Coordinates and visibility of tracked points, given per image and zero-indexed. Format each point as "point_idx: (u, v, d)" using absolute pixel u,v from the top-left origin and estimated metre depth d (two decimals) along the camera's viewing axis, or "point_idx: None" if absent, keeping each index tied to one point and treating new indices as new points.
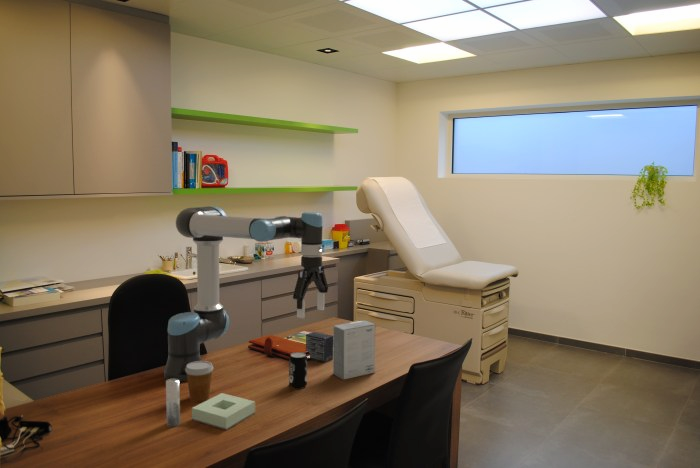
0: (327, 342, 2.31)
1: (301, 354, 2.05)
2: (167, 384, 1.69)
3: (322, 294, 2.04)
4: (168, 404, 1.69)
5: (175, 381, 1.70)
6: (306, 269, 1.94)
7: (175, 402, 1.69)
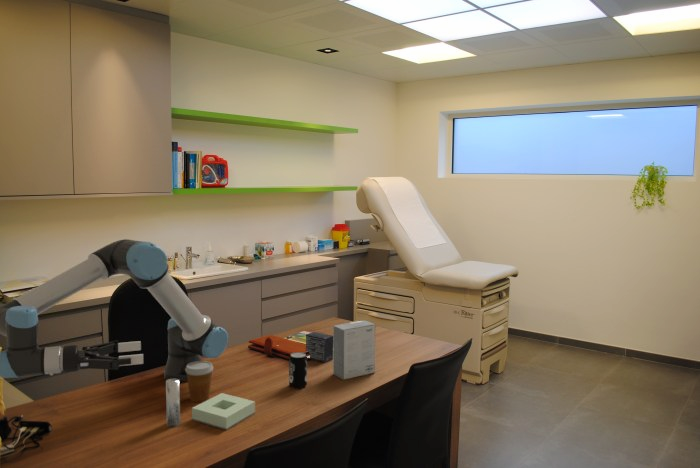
0: (327, 342, 2.31)
1: (301, 354, 2.05)
2: (167, 384, 1.69)
3: None
4: (168, 404, 1.69)
5: (175, 381, 1.70)
6: None
7: (175, 402, 1.69)
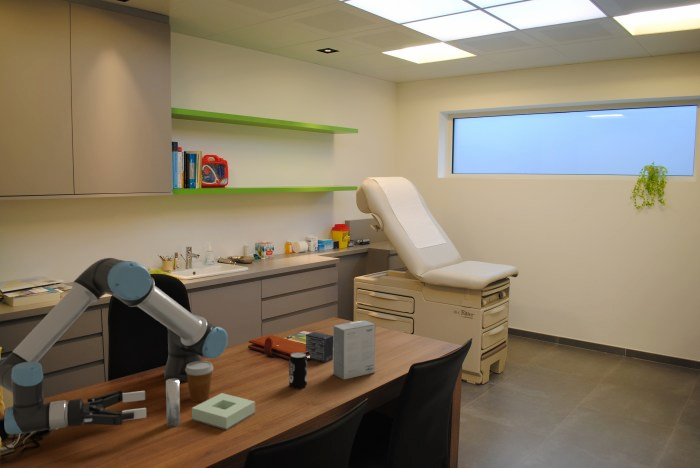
0: (327, 342, 2.31)
1: (301, 354, 2.05)
2: (167, 384, 1.69)
3: None
4: (168, 404, 1.69)
5: (175, 381, 1.70)
6: None
7: (175, 402, 1.69)
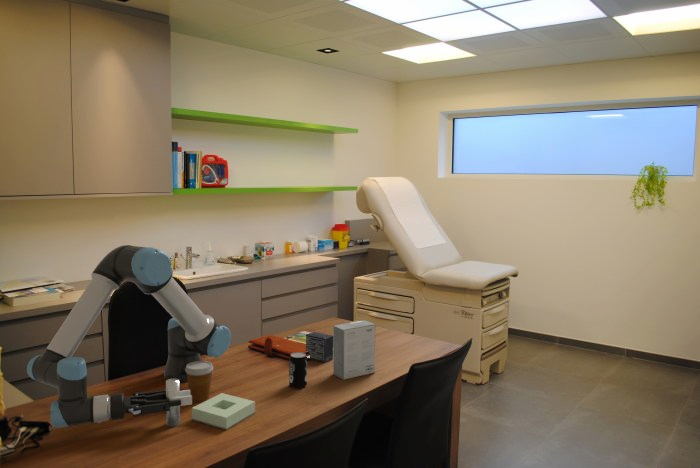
0: (327, 342, 2.31)
1: (301, 354, 2.05)
2: (167, 384, 1.69)
3: None
4: None
5: (175, 381, 1.70)
6: None
7: None
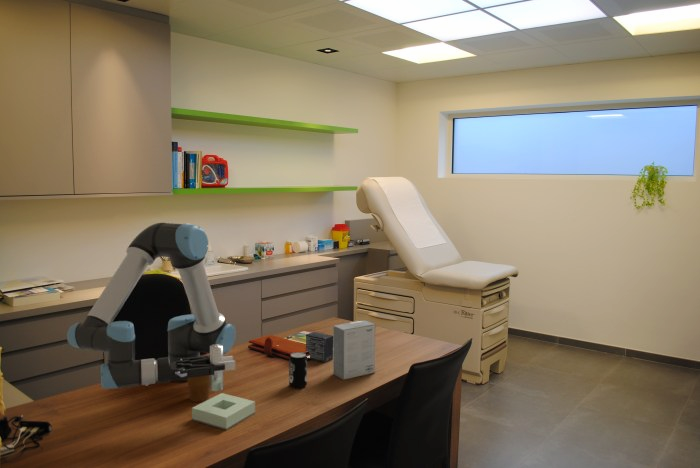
0: (327, 342, 2.31)
1: (301, 354, 2.05)
2: (211, 349, 1.72)
3: None
4: None
5: (219, 346, 1.73)
6: None
7: None
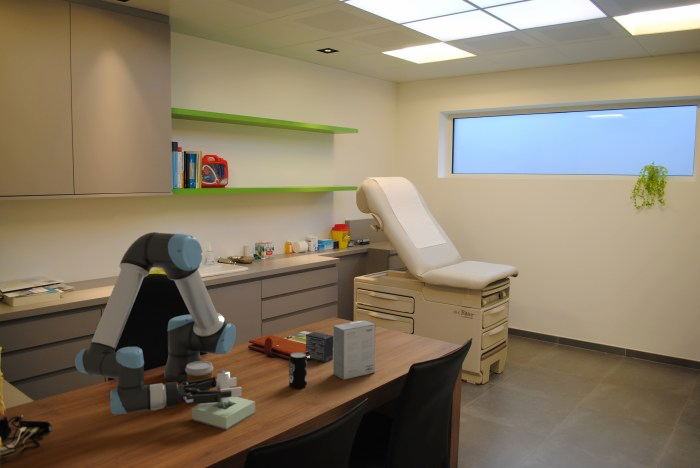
0: (327, 342, 2.31)
1: (301, 354, 2.05)
2: (219, 375, 1.75)
3: None
4: None
5: (226, 373, 1.76)
6: None
7: None
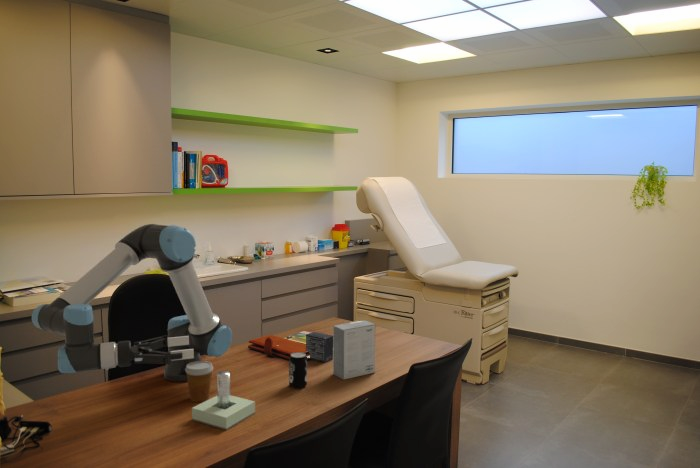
0: (327, 342, 2.31)
1: (301, 354, 2.05)
2: (218, 376, 1.74)
3: None
4: (219, 396, 1.75)
5: (226, 373, 1.75)
6: None
7: (226, 394, 1.75)
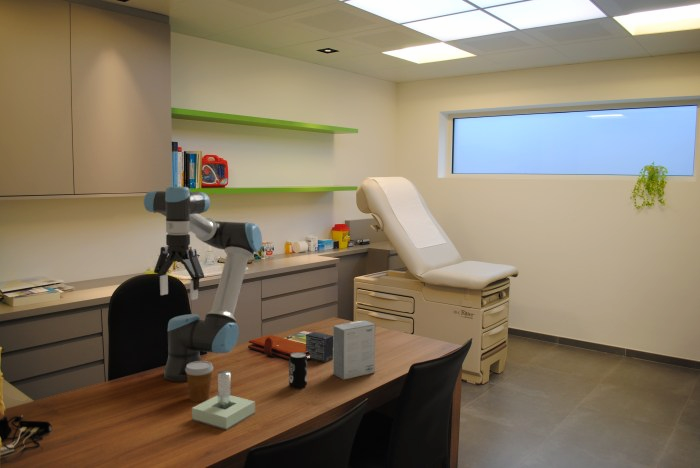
0: (327, 342, 2.31)
1: (301, 354, 2.05)
2: (219, 376, 1.74)
3: None
4: (220, 396, 1.75)
5: (227, 373, 1.75)
6: None
7: (227, 394, 1.75)
